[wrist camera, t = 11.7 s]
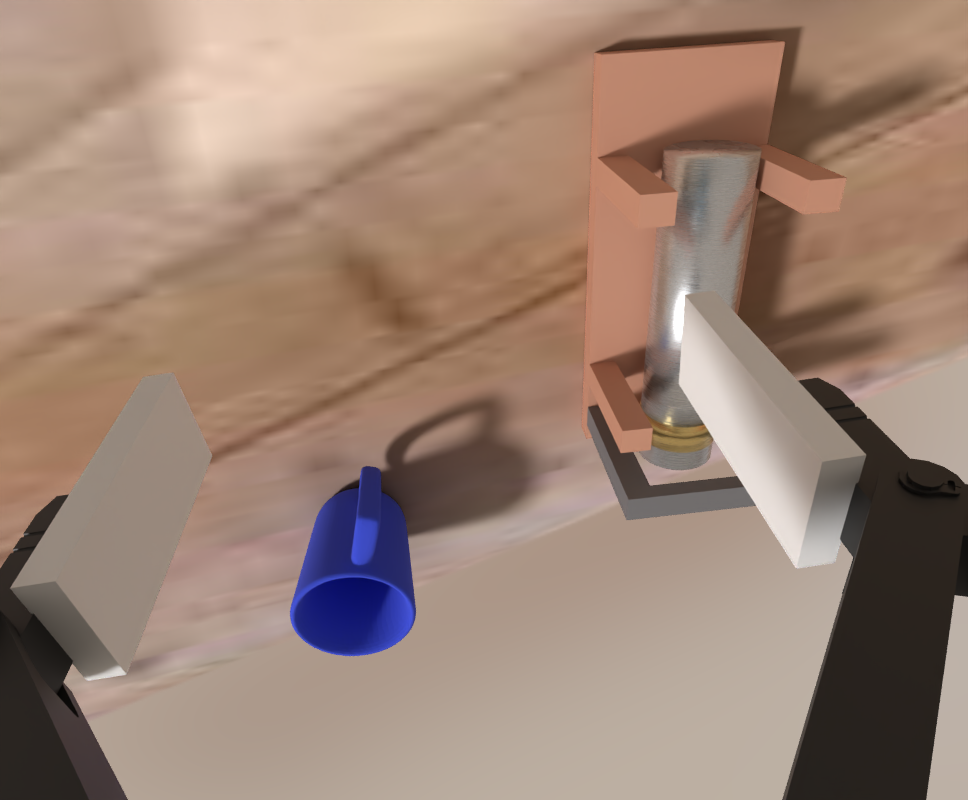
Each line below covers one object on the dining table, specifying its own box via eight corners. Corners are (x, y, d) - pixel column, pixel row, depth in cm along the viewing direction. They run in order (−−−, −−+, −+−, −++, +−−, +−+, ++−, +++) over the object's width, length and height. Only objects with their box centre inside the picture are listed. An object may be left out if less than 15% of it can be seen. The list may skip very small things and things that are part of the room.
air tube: (643, 151, 35) (724, 165, 32) (700, 136, 38) (782, 147, 34) (621, 446, 46) (680, 480, 42) (667, 418, 48) (726, 449, 45)
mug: (430, 440, 48) (435, 535, 39) (406, 556, 54) (406, 659, 46) (317, 426, 46) (297, 523, 38) (305, 548, 52) (286, 654, 44)
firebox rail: (594, 52, 35) (665, 75, 25) (771, 40, 36) (907, 57, 26) (581, 427, 49) (625, 534, 39) (710, 413, 49) (785, 516, 40)
